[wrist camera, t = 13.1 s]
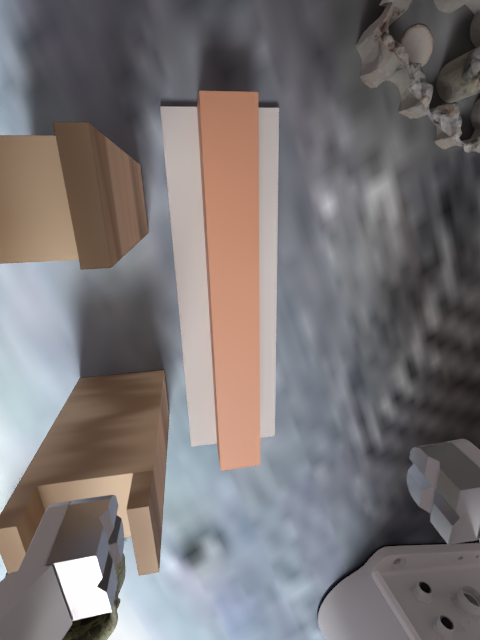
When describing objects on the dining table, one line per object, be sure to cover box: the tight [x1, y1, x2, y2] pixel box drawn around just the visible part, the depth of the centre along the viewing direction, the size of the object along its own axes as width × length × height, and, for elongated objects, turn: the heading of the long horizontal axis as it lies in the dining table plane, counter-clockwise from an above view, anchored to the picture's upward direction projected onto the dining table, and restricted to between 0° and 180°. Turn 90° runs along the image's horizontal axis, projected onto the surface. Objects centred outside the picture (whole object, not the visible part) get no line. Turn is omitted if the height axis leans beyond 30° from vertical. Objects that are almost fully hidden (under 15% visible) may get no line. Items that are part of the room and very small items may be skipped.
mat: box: [160, 106, 279, 447], centre depth 24 cm, size 7×24×1 cm, turn 1°
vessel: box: [5, 554, 125, 640], centre depth 26 cm, size 12×9×6 cm
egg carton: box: [355, 0, 480, 153], centre depth 19 cm, size 11×8×4 cm
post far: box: [0, 370, 169, 575], centre depth 20 cm, size 6×4×12 cm, turn 91°
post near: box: [0, 122, 148, 269], centre depth 15 cm, size 6×4×12 cm, turn 91°
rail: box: [197, 91, 260, 470], centre depth 22 cm, size 3×24×3 cm, turn 1°
